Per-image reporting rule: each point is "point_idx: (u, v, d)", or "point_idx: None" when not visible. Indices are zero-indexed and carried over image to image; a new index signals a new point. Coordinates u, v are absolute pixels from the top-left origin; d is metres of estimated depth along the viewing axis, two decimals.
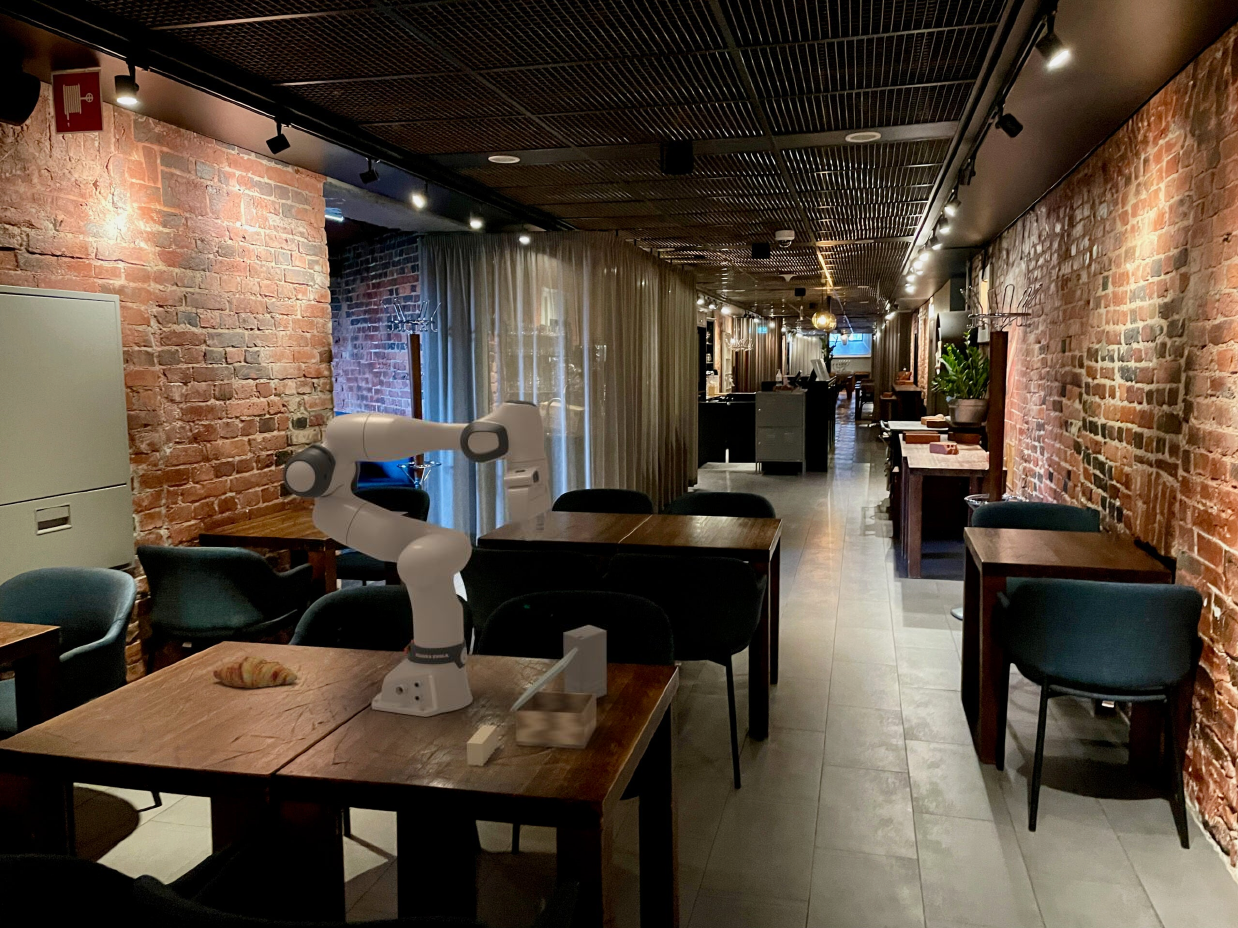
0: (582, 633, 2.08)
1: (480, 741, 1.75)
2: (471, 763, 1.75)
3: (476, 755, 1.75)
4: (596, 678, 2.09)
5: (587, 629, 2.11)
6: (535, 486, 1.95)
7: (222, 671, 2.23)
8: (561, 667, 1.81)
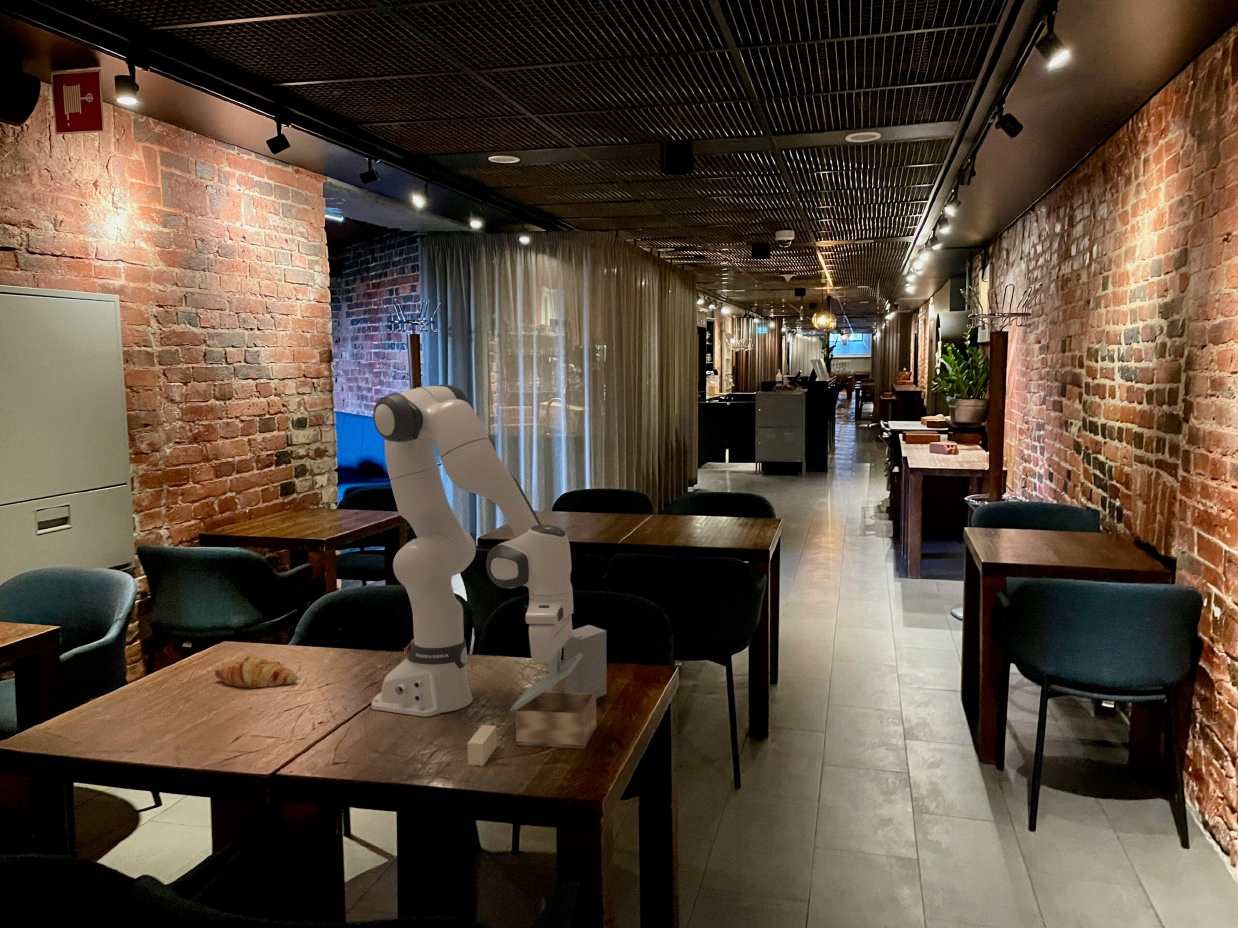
0: (582, 633, 2.08)
1: (480, 741, 1.75)
2: (472, 763, 1.75)
3: (477, 755, 1.75)
4: (596, 678, 2.09)
5: (587, 629, 2.11)
6: (559, 623, 1.81)
7: (223, 671, 2.23)
8: (566, 673, 1.81)
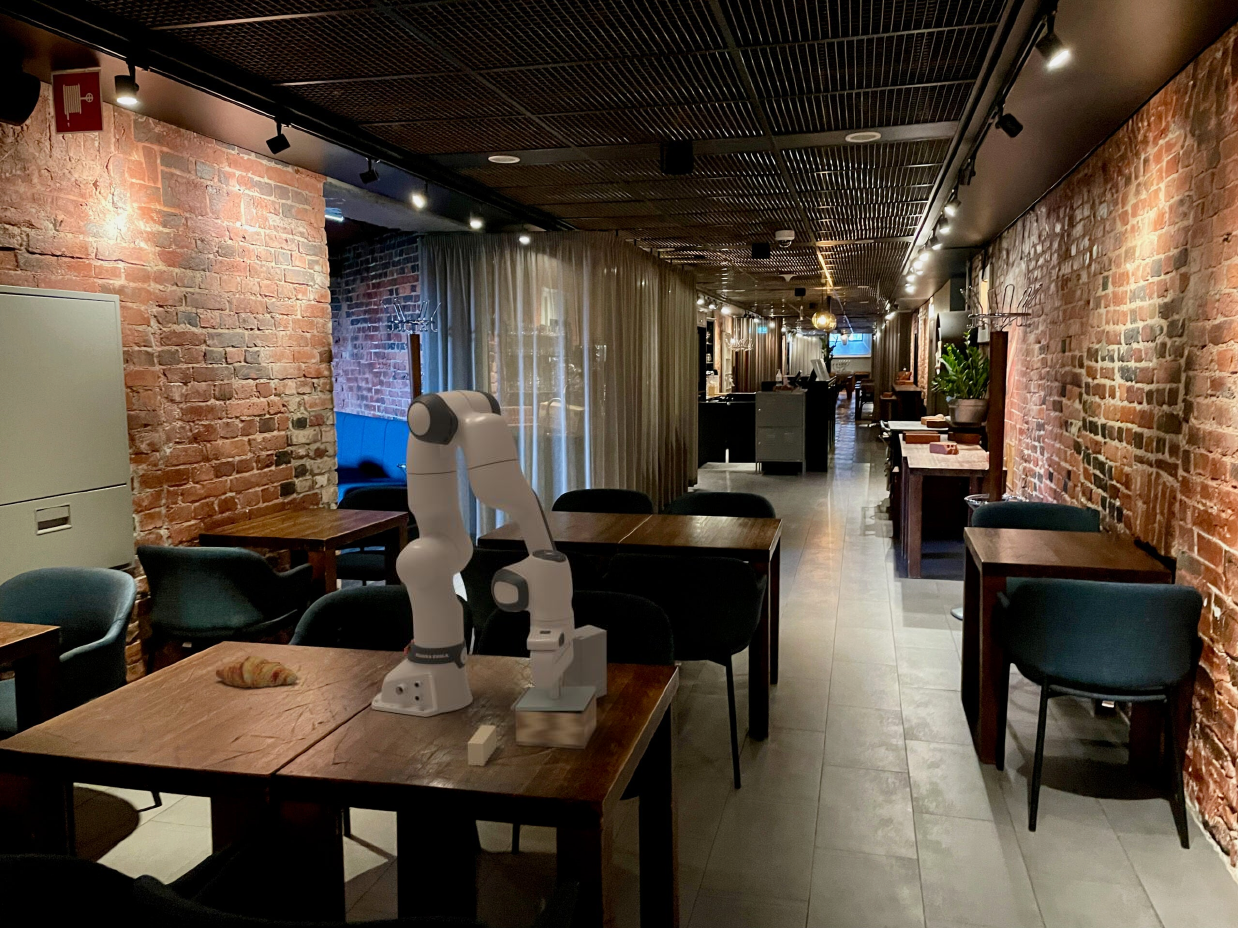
0: (582, 633, 2.08)
1: (480, 741, 1.75)
2: (472, 763, 1.75)
3: (477, 755, 1.75)
4: (596, 678, 2.09)
5: (587, 629, 2.11)
6: (560, 649, 1.81)
7: (224, 670, 2.24)
8: (580, 708, 1.81)
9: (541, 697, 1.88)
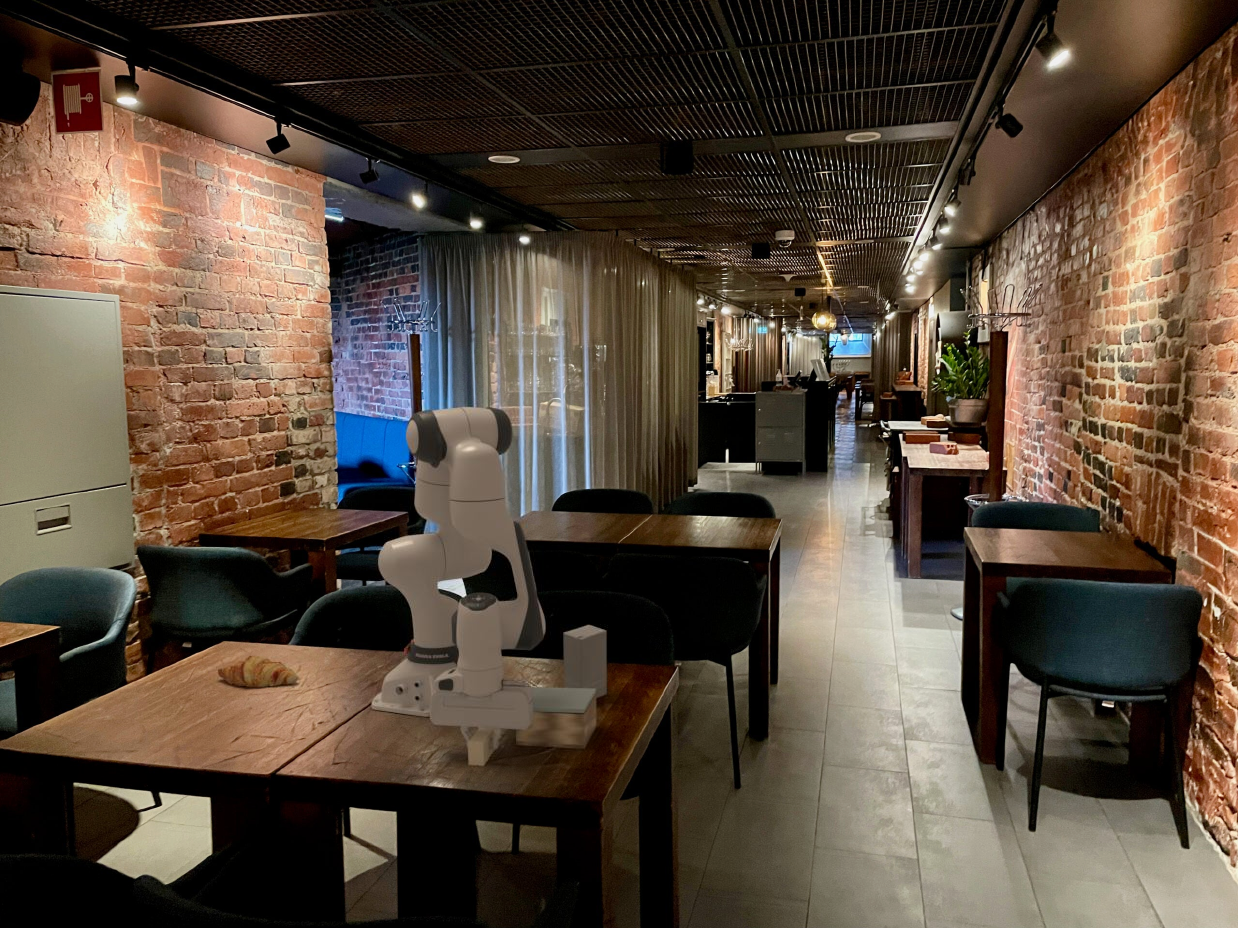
0: (582, 633, 2.08)
1: (481, 740, 1.75)
2: (472, 762, 1.75)
3: (477, 754, 1.75)
4: (596, 678, 2.09)
5: (587, 629, 2.11)
6: (450, 694, 1.76)
7: (226, 670, 2.24)
8: (580, 710, 1.81)
9: (541, 698, 1.88)
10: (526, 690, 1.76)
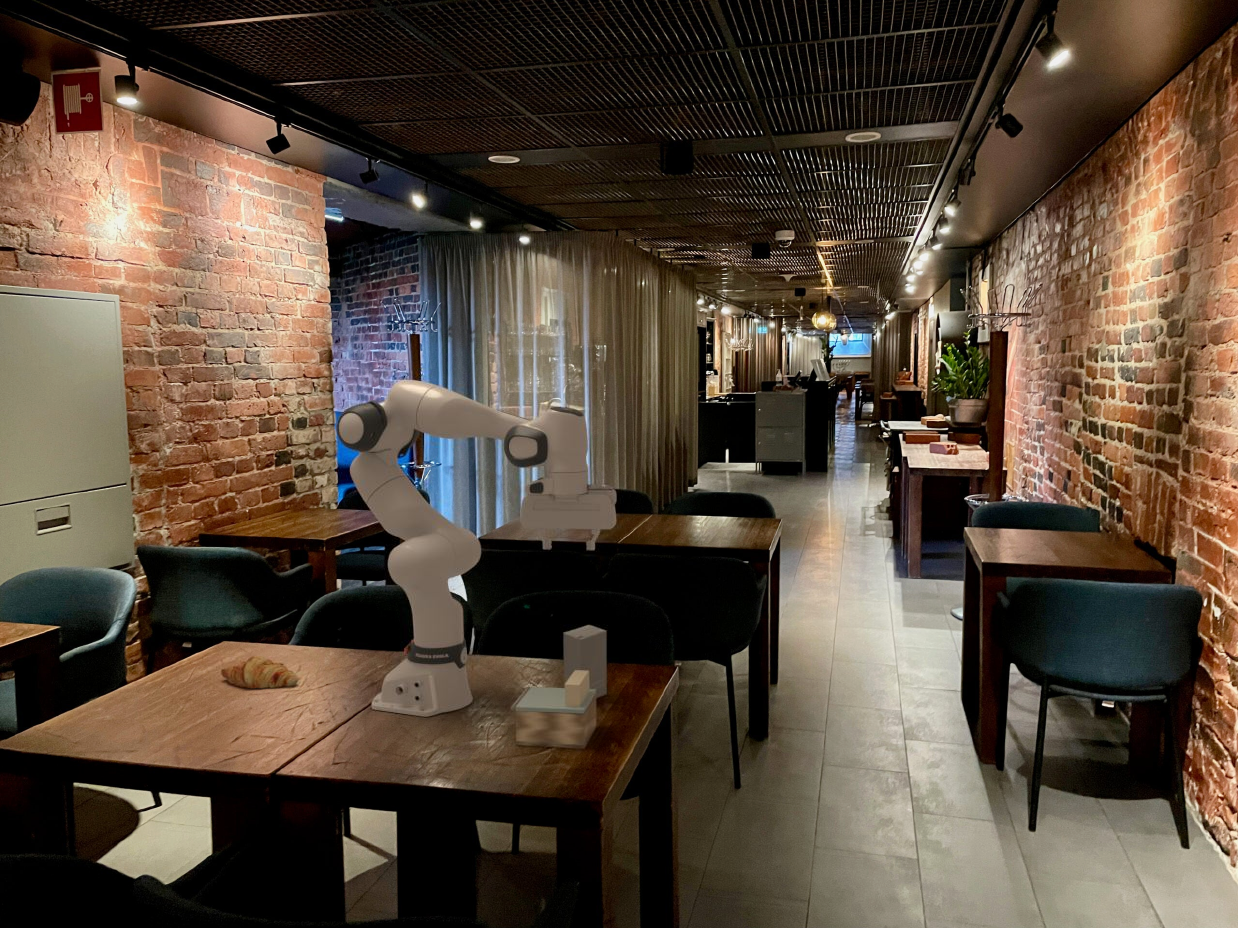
0: (582, 633, 2.08)
1: (577, 683, 1.83)
2: (569, 704, 1.83)
3: (574, 696, 1.83)
4: (596, 678, 2.09)
5: (587, 629, 2.11)
6: (540, 497, 1.91)
7: (228, 670, 2.24)
8: (580, 711, 1.81)
9: (541, 698, 1.88)
10: (610, 493, 1.91)
